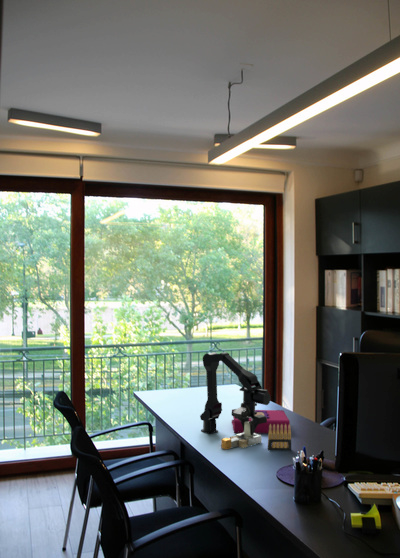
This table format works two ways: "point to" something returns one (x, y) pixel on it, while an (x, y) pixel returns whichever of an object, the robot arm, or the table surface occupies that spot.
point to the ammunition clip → (279, 438)
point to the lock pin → (229, 443)
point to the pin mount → (241, 442)
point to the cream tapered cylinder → (247, 430)
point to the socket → (250, 439)
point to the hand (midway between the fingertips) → (248, 433)
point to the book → (272, 419)
